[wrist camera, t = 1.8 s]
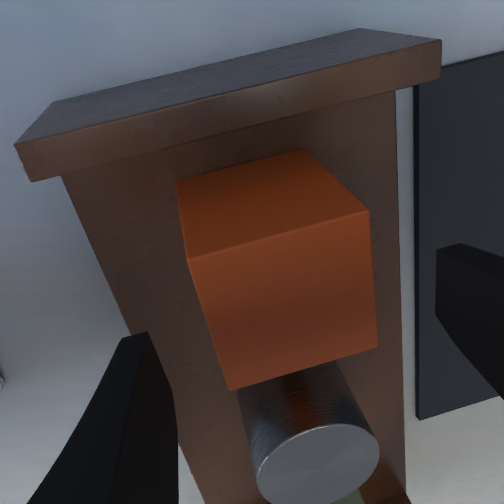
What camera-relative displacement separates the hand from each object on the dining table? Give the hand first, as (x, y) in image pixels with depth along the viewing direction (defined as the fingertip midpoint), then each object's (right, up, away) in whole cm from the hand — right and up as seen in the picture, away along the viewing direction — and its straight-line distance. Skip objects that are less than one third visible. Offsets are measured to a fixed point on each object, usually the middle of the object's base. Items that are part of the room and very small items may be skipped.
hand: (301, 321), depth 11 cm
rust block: (-1, +3, +5) cm, 6 cm away
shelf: (0, -3, +11) cm, 12 cm away
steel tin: (0, -4, +9) cm, 10 cm away
